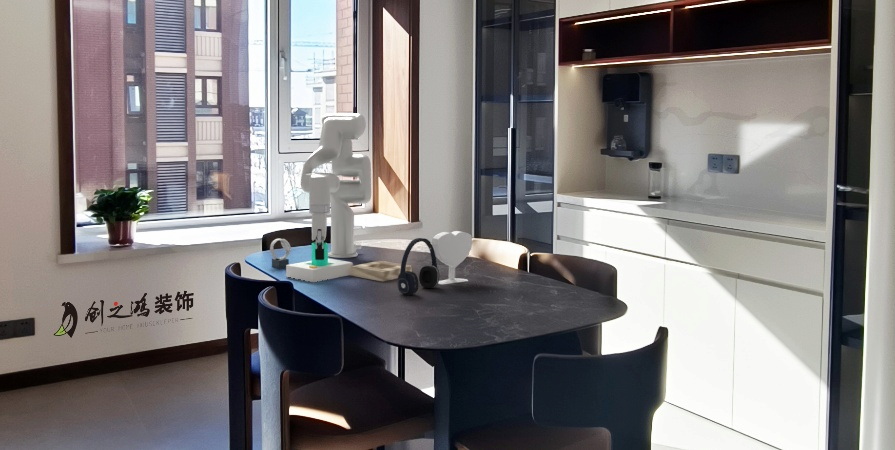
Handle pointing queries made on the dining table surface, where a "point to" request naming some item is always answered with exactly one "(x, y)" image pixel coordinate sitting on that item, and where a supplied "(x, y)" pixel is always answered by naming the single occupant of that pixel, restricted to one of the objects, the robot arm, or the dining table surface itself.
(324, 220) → the robot arm
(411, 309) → the dining table surface
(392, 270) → the beige compartment tray
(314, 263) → the candle
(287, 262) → the watch
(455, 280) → the heart sculpture
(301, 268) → the port block
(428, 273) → the headphones
